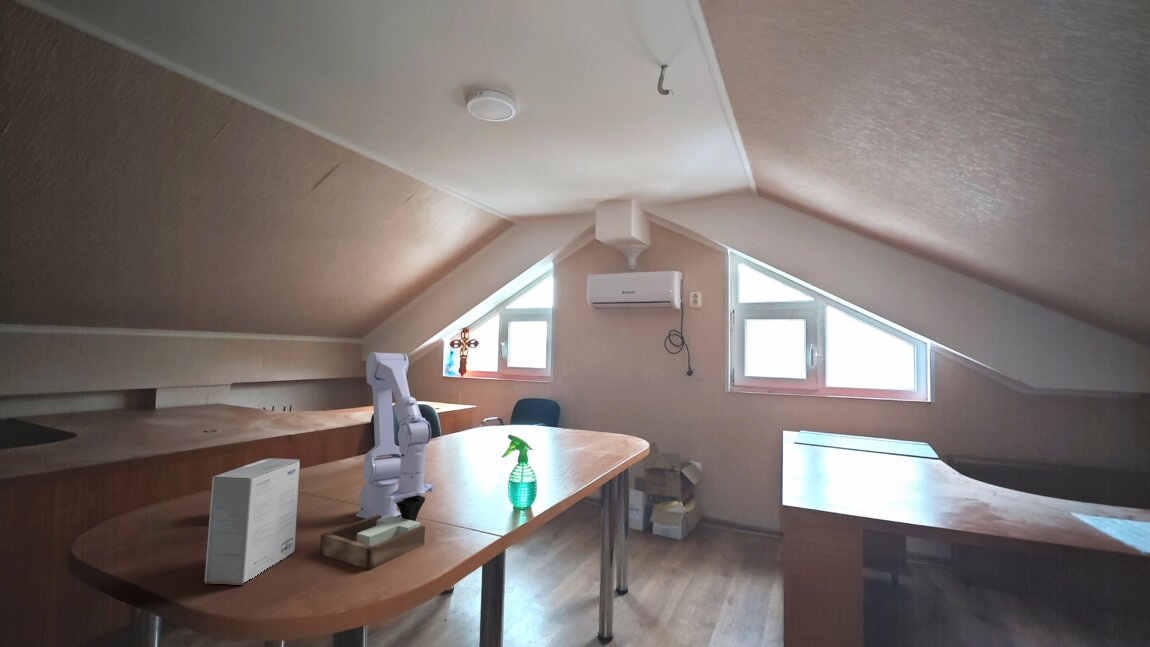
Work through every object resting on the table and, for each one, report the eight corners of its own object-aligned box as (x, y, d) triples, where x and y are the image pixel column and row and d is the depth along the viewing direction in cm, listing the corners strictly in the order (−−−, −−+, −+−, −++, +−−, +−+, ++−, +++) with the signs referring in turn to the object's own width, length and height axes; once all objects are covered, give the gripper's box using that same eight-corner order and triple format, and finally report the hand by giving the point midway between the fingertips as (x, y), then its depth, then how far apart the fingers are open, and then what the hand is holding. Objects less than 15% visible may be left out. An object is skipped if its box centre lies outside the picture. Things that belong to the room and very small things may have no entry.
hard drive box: (261, 550, 101) (269, 457, 102) (295, 552, 100) (302, 459, 102) (201, 585, 85) (211, 475, 87) (241, 587, 85) (251, 477, 86)
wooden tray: (319, 553, 100) (320, 534, 100) (376, 531, 114) (377, 514, 114) (369, 570, 93) (370, 549, 94) (424, 544, 107) (425, 526, 107)
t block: (346, 548, 103) (347, 530, 103) (388, 531, 114) (390, 515, 114) (378, 558, 99) (379, 539, 99) (419, 539, 109) (420, 522, 110)
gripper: (401, 480, 106) (397, 541, 105) (444, 467, 119) (441, 521, 118) (379, 475, 109) (375, 535, 108) (424, 464, 122) (420, 516, 121)
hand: (408, 527), depth 113 cm, fingers closed
